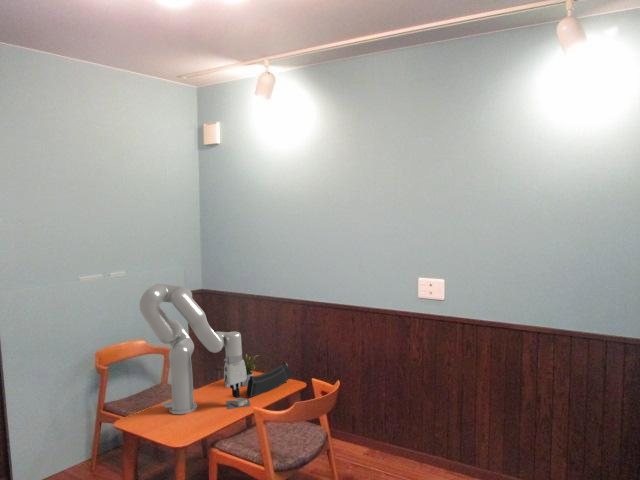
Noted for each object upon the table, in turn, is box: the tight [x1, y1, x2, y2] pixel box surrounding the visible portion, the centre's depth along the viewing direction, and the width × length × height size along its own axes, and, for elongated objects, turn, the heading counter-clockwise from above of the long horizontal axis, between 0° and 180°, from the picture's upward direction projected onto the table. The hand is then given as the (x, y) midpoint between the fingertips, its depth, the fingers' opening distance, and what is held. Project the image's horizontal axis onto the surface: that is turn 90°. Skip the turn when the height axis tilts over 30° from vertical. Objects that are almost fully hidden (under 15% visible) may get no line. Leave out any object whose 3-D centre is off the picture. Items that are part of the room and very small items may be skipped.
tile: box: [231, 397, 247, 406], centre depth 233 cm, size 2×5×5 cm
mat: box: [225, 397, 252, 410], centre depth 233 cm, size 11×10×1 cm
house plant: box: [241, 353, 259, 387], centre depth 259 cm, size 14×14×16 cm
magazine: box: [245, 361, 293, 398], centre depth 250 cm, size 17×3×30 cm
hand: (236, 396), depth 231 cm, fingers closed
